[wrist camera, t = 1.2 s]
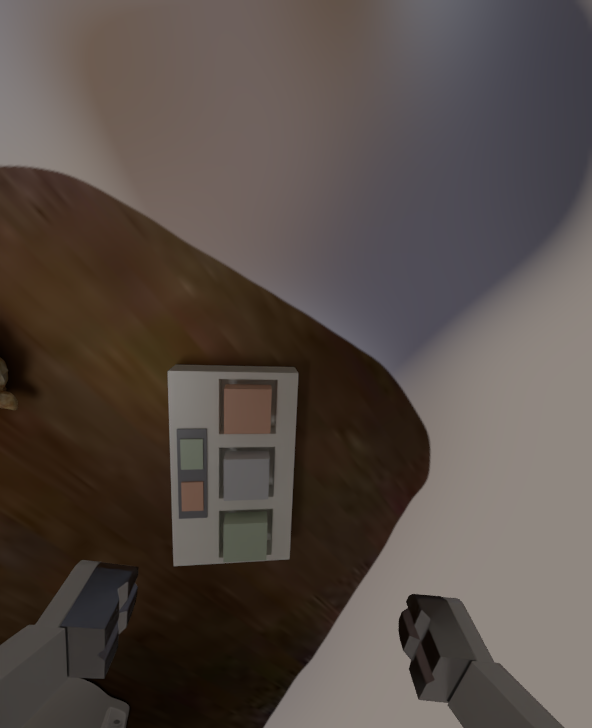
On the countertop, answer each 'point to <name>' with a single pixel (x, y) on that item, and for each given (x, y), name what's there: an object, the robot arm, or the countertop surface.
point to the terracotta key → (247, 409)
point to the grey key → (246, 475)
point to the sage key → (245, 536)
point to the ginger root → (3, 397)
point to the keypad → (206, 458)
